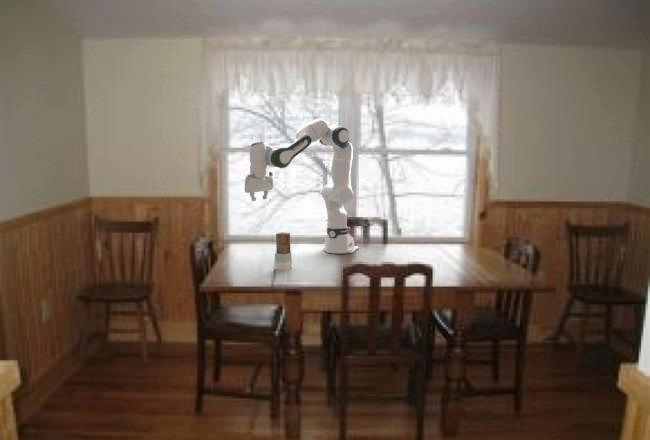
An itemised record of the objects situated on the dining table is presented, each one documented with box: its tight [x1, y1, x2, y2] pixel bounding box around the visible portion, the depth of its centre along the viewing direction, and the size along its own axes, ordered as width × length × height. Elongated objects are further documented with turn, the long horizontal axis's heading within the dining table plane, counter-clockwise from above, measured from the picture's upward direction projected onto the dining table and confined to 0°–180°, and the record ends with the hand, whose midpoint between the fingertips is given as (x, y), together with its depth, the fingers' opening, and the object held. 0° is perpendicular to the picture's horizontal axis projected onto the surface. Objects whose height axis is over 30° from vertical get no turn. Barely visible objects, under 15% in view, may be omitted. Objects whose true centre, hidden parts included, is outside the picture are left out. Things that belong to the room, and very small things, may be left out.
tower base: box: [274, 259, 293, 271], centre depth 276 cm, size 6×6×4 cm
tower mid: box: [274, 251, 292, 263], centre depth 275 cm, size 6×6×4 cm
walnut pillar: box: [275, 231, 291, 254], centre depth 274 cm, size 5×5×10 cm
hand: (259, 200), depth 286 cm, fingers open, 8 cm apart
